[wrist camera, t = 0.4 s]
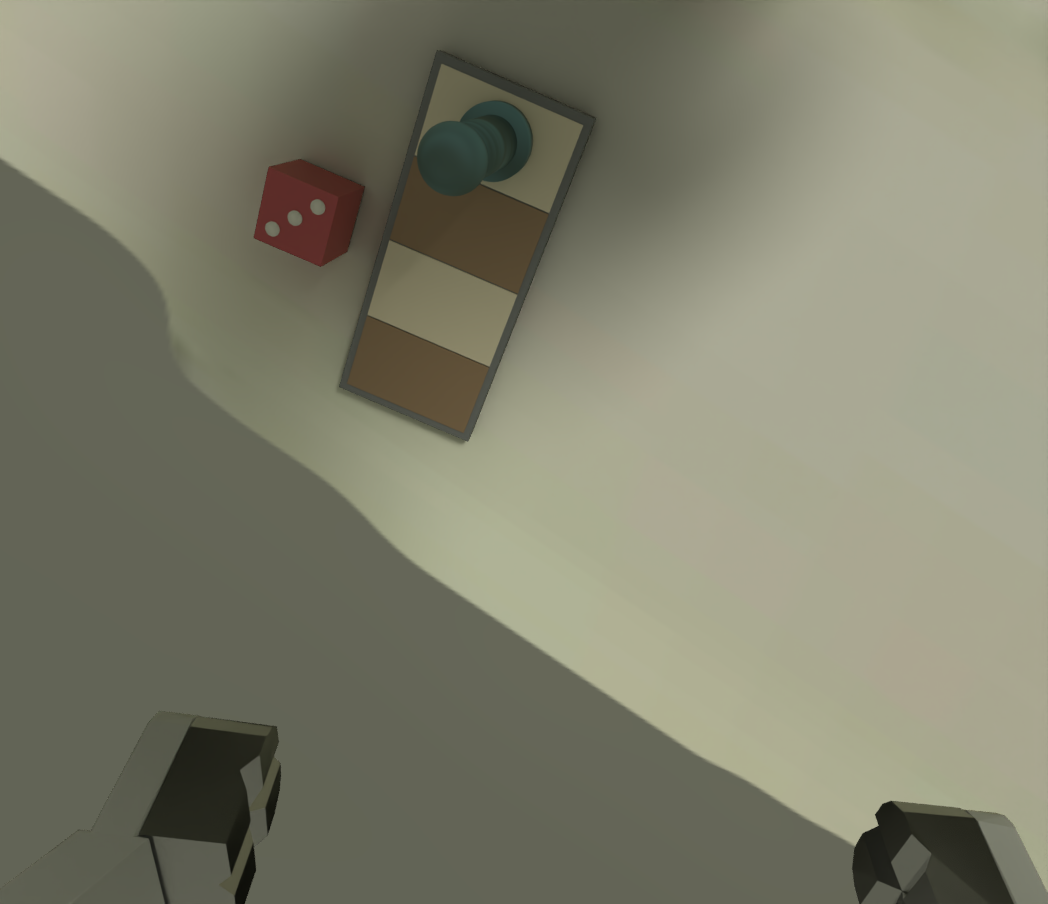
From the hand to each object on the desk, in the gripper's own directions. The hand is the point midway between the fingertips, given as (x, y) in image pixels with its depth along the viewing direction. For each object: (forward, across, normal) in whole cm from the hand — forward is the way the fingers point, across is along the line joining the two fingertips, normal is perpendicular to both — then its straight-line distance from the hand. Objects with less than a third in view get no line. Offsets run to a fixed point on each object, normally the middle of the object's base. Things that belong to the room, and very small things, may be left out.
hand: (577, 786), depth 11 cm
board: (+44, +6, +10) cm, 45 cm away
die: (+45, +15, +8) cm, 48 cm away
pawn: (+43, +4, +2) cm, 44 cm away
